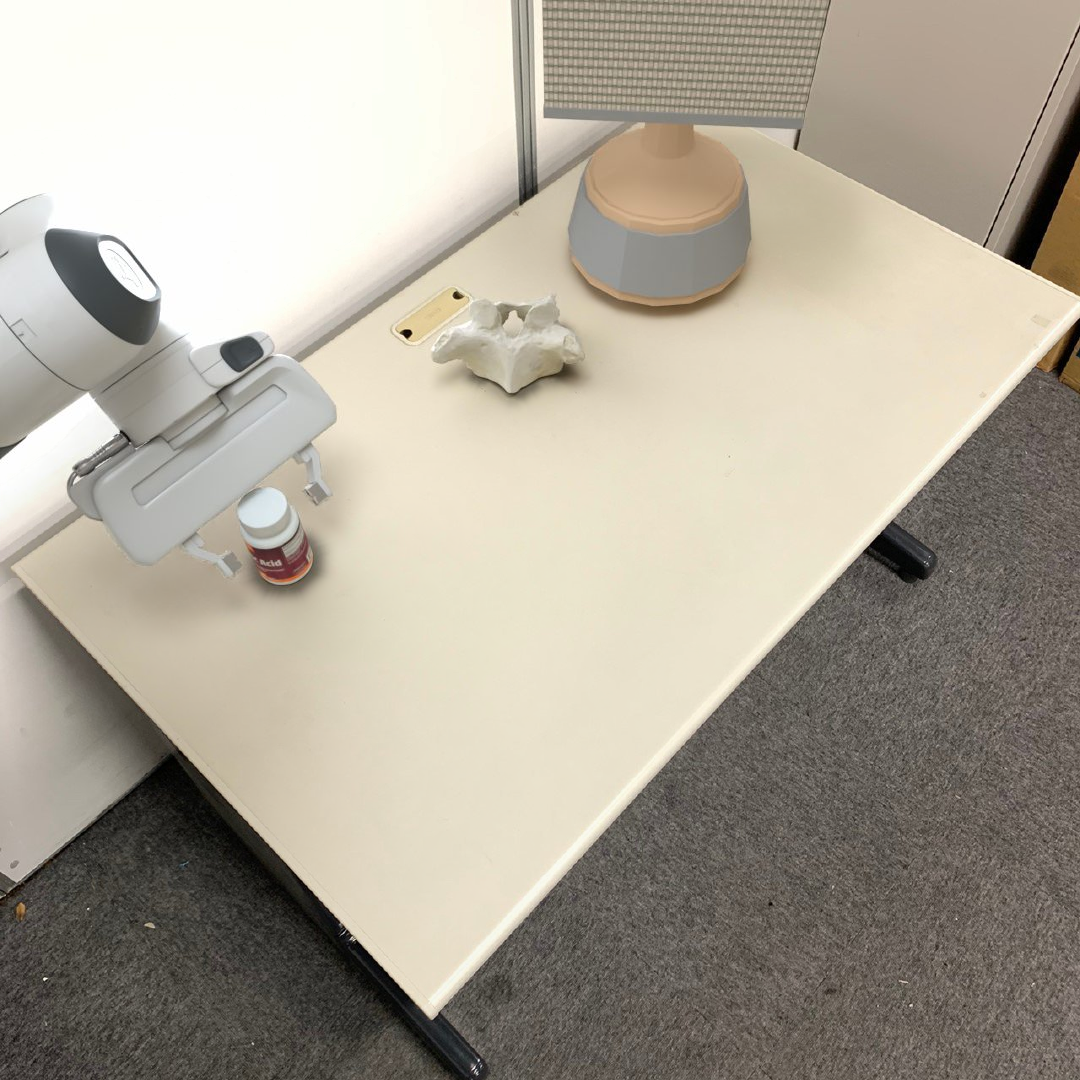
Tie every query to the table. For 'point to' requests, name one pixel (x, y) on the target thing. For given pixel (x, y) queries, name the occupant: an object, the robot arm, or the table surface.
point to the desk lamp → (672, 130)
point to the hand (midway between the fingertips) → (281, 536)
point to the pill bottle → (274, 536)
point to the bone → (510, 342)
